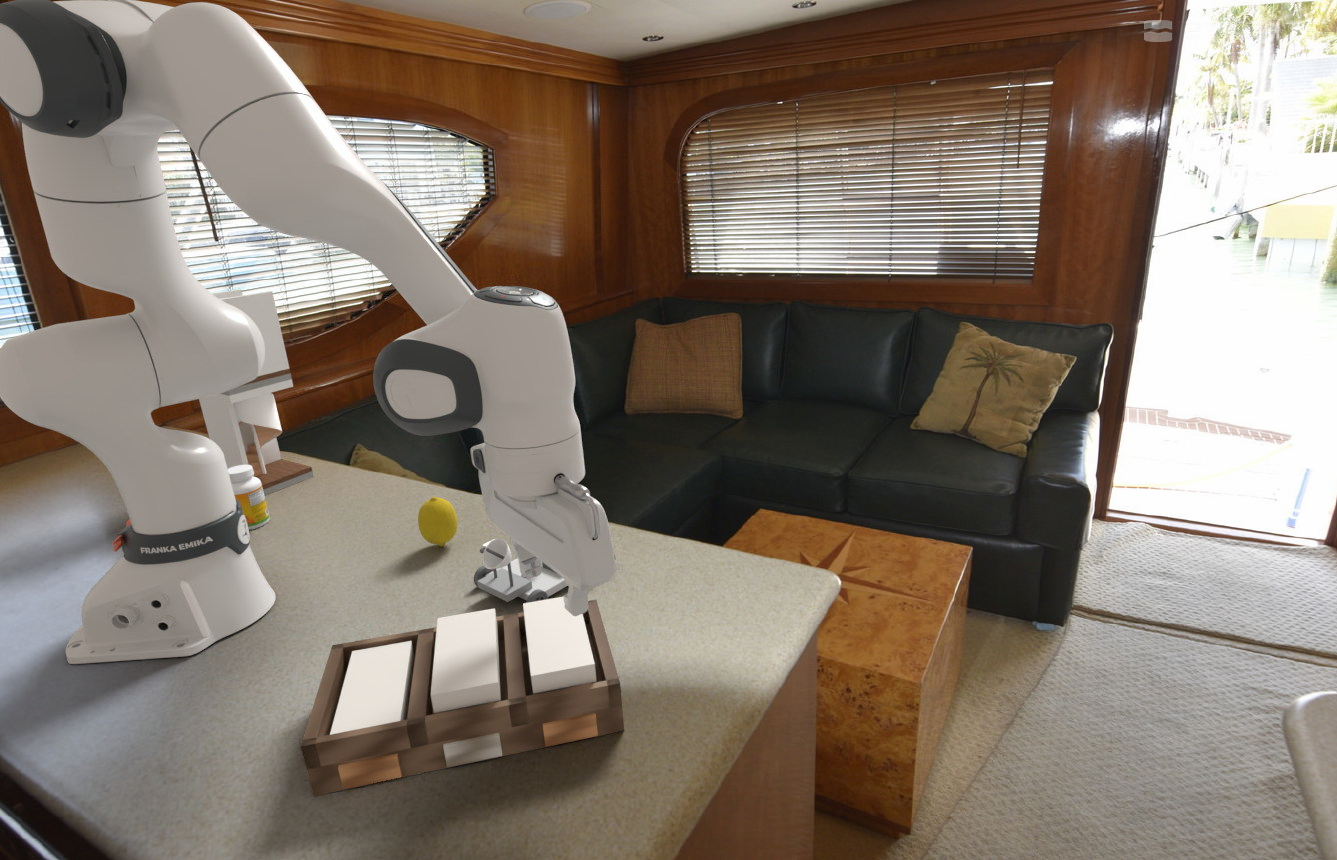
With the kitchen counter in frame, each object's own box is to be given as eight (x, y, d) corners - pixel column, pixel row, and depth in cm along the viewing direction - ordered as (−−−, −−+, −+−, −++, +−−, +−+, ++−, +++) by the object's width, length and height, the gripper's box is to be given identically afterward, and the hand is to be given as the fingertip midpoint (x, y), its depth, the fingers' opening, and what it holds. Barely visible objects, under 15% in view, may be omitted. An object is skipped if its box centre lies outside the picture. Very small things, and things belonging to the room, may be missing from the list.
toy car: (504, 556, 88) (446, 532, 95) (515, 628, 91) (458, 599, 98) (611, 502, 100) (553, 484, 108) (616, 567, 104) (560, 545, 111)
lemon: (450, 555, 108) (442, 505, 106) (415, 554, 110) (406, 504, 107) (467, 538, 114) (459, 490, 111) (434, 536, 115) (425, 488, 112)
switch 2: (434, 713, 68) (430, 695, 68) (440, 634, 80) (437, 618, 80) (500, 700, 70) (498, 682, 69) (497, 624, 82) (494, 608, 81)
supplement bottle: (226, 529, 121) (211, 473, 118) (254, 515, 126) (240, 461, 123) (249, 533, 119) (235, 477, 116) (277, 519, 124) (264, 464, 121)
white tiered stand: (255, 499, 133) (205, 302, 121) (223, 489, 138) (172, 299, 127) (313, 476, 142) (272, 291, 130) (281, 467, 147) (238, 289, 136)
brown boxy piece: (312, 798, 66) (299, 749, 65) (342, 688, 81) (332, 645, 79) (624, 732, 72) (620, 685, 70) (600, 640, 87) (596, 599, 85)
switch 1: (334, 753, 67) (329, 735, 66) (355, 667, 79) (352, 651, 78) (403, 739, 68) (400, 721, 68) (414, 656, 80) (411, 640, 80)
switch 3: (533, 693, 70) (530, 676, 69) (525, 619, 82) (522, 603, 81) (596, 681, 71) (594, 663, 71) (579, 609, 83) (577, 594, 83)
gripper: (625, 482, 64) (638, 623, 68) (519, 430, 79) (535, 547, 84) (560, 504, 60) (578, 651, 64) (462, 445, 76) (482, 566, 80)
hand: (553, 592), depth 74 cm, fingers open, 8 cm apart
